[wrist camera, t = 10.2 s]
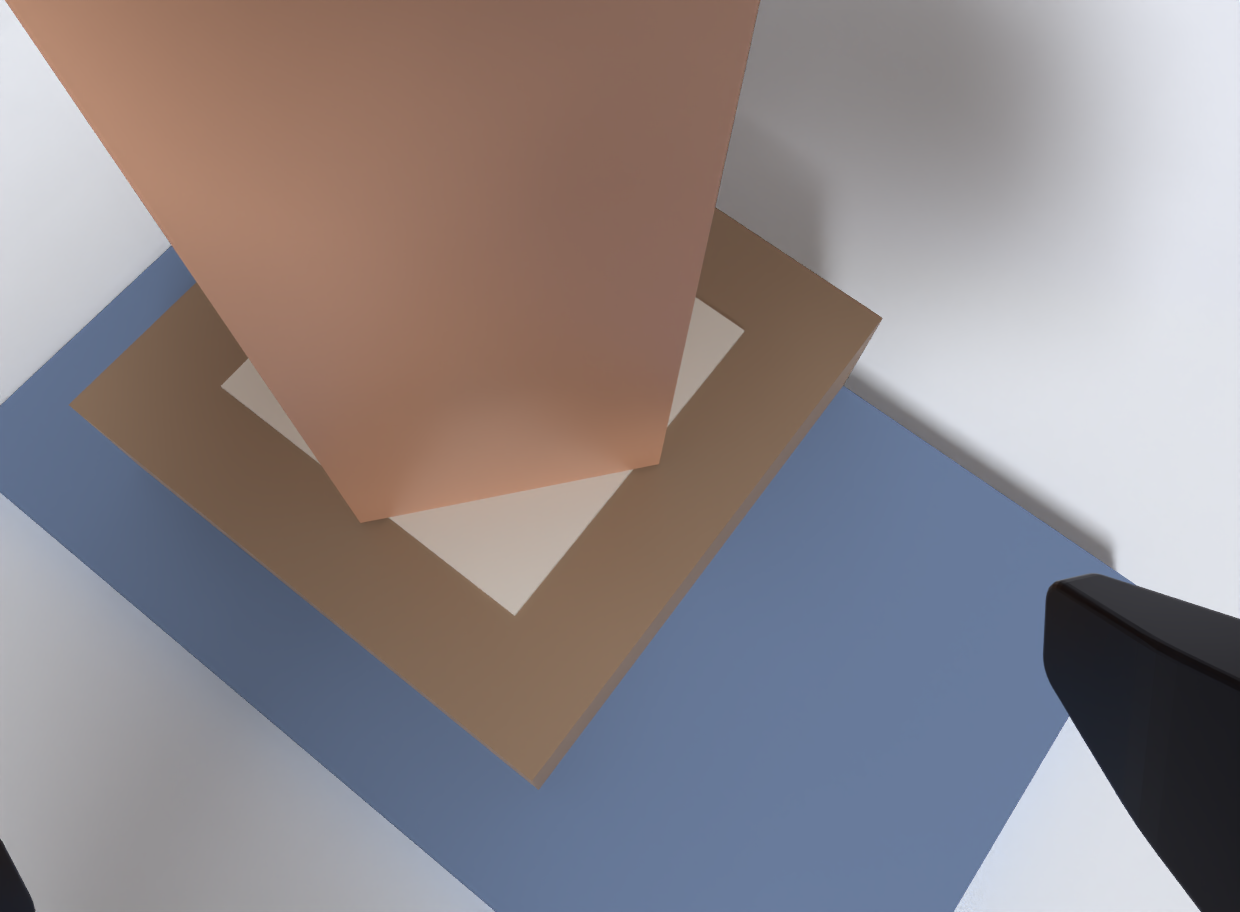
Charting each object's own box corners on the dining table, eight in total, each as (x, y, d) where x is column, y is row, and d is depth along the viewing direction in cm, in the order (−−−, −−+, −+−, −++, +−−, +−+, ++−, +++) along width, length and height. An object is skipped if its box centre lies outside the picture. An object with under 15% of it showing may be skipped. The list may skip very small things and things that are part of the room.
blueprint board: (1118, 601, 22) (1236, 548, 18) (789, 1152, 18) (847, 1237, 14) (375, 91, 25) (339, -45, 21) (-21, 468, 22) (-152, 387, 18)
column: (658, 464, 18) (852, -426, 5) (360, 523, 17) (-210, -318, 5) (596, 212, 19) (632, -922, 7) (322, 258, 19) (-179, -883, 6)
